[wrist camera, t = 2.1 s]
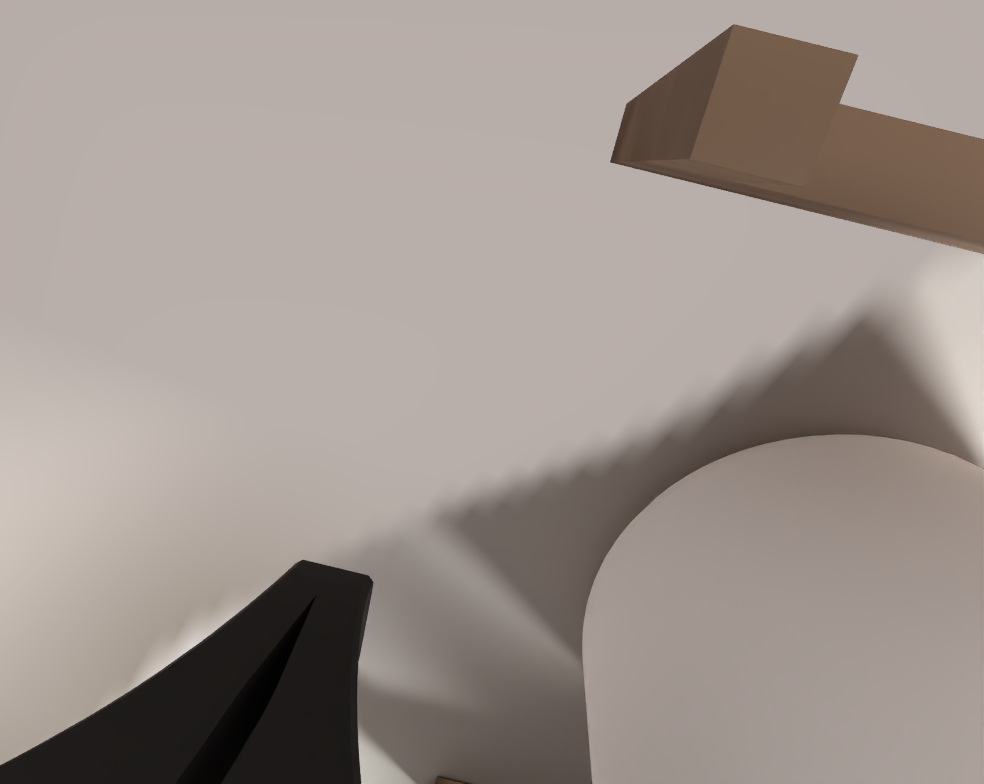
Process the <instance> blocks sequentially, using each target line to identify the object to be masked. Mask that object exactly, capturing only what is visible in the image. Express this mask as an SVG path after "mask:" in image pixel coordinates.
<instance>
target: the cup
mask: <svg viewBox="0 0 984 784" xmlns="http://www.w3.org/2000/svg"><path fill="white" fill-rule="evenodd" d="M582 658H583V670H584V683H585V696H586V709H587V722H588V735H589V748H590V760H591V773H592V784H984V469H983V468H980V467H978V466H976V465H974V464H972V463H970V462H968V461H966V460H963V459H961V458H959V457H957V456H955V455H952V454H949V453H946V452H943V451H940V450H938V449H935V448H932V447H928V446H924V445H920V444H917V443H913V442H909V441H903V440H897V439H892V438H886V437H879V436H868V435H846V434H834V435H817V436H806V437H799V438H792V439H785V440H780V441H775V442H771V443H766V444H762V445H758V446H755V447H751V448H748V449H745V450H742V451H739V452H736V453H733V454H731V455H728V456H725V457H723V458H721V459H718V460H716V461H714V462H712V463H710V464H708V465H705V466H703V467H702V468H700V469H698V470H696V471H694V472H692V473H691V474H689V475H687V476H686V477H684V478H682V479H681V480H679V481H678V482H676V483H675V484H673V485H672V486H670V487H669V488H668V489H666V490H665V491H664V492H662V493H661V494H660V495H659V496H657V497H656V498H655V499H654V500H653V501H652V502H651V503H650V504H649V505H648V506H647V507H646V508H645V509H644V510H643V511H642V512H640V513H639V514H638V515H637V516H636V517H635V518H634V519H633V520H632V521H631V522H630V523H629V525H628V526H627V527H626V528H625V530H624V531H623V532H622V533H621V535H620V536H619V537H618V538H617V540H616V541H615V543H614V544H613V546H612V547H611V549H610V551H609V552H608V554H607V555H606V557H605V559H604V561H603V563H602V565H601V567H600V569H599V571H598V573H597V575H596V578H595V580H594V583H593V586H592V589H591V592H590V595H589V598H588V602H587V606H586V612H585V617H584V623H583V636H582Z"/></svg>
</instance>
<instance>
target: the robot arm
mask: <svg viewBox="0 0 984 784" xmlns="http://www.w3.org/2000/svg"><path fill="white" fill-rule="evenodd" d="M373 583H374V582H373V581H372V579H371V578H370V577H369V576H368V575H364V574H360V573H356V572H352V571H348V570H343V569H339V568H335V567H331V566H327V565H323V564H318V563H314V562H310V561H306V560H301V561H300V562H298V563H296V564H295V565H294V566H293V567H291V568H290V569H289V570H288V571H287V572H286V573H285V574H284V575H283V576H281V577H280V578H279V579H278V580H277V581H276V582H275V583H274V584H272V585H271V586H270V587H269V588H268V589H267V590H265V591H264V592H263V593H262V594H261V595H260V596H258V597H257V598H256V599H255V600H254V601H252V602H251V603H250V604H249V605H248V606H246V607H245V608H244V609H243V610H241V611H240V612H239V613H238V614H236V615H235V616H234V617H232V618H231V619H230V620H229V621H227V622H226V623H225V624H224V625H222V626H221V627H220V628H218V629H217V630H216V631H215V632H213V633H212V634H211V635H210V636H208V637H207V638H206V639H204V640H203V641H202V642H200V643H199V644H197V645H196V646H195V647H193V648H192V649H190V650H189V651H188V652H186V653H185V654H183V655H182V656H181V657H179V658H178V659H176V660H175V661H173V662H172V663H171V664H169V665H168V666H166V667H165V668H164V669H162V670H161V671H159V672H158V673H156V674H155V675H154V676H152V677H151V678H149V679H148V680H146V681H144V682H143V683H141V684H140V685H138V686H137V687H135V688H134V689H132V690H131V691H129V692H128V693H126V694H124V695H123V696H121V697H120V698H118V699H116V700H115V701H113V702H112V703H110V704H108V705H107V706H105V707H103V708H102V709H100V710H99V711H97V712H95V713H94V714H92V715H90V716H89V717H87V718H85V719H84V720H82V721H80V722H78V723H76V724H75V725H73V726H71V727H69V728H68V729H66V730H64V731H62V732H61V733H59V734H57V735H55V736H53V737H52V738H50V739H48V740H46V741H45V742H43V743H41V744H39V745H37V746H36V747H34V748H32V749H30V750H28V751H26V752H25V753H23V754H21V755H19V756H17V757H15V758H13V759H12V760H10V761H8V762H6V763H4V764H2V765H0V784H361V775H360V763H359V748H358V727H357V675H358V660H359V657H360V652H361V647H362V641H363V636H364V631H365V625H366V620H367V615H368V610H369V604H370V599H371V594H372V588H373Z"/></svg>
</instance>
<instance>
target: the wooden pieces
mask: <svg viewBox="0 0 984 784" xmlns="http://www.w3.org/2000/svg"><path fill="white" fill-rule="evenodd" d="M857 57H858V55H856V54H852V53H848V52H843V51H840V50H835V49H832V48H827V47H824V46H819V45H815V44H811V43H807V42H803V41H799V40H795V39H791V38H787V37H783V36H779V35H774V34H770V33H767V32H763V31H759V30H754V29H751V28H747V27H742V26H738V25H732V26H731V27H730V28H728V29H727V30H726V31H724V32H723V33H721V34H720V35H719V36H718V37H716V38H715V39H713V40H712V41H711V42H709V43H708V44H707V45H705V46H704V47H703V48H702V49H700V50H699V51H697V52H696V53H695V54H693V55H692V56H691V57H689V58H688V59H686V60H685V61H684V62H682V63H681V64H680V65H679V66H677V67H676V68H674V69H673V70H672V71H670V72H669V73H668V74H667V75H665V76H664V77H662V78H661V79H660V80H658V81H657V82H655V83H654V84H653V85H652V86H650V87H649V88H647V89H646V90H645V91H644V92H642V93H641V94H639V95H638V96H637V97H635V98H634V99H633V100H631V101H630V102H629V103H627V105H626V108H625V112H624V115H623V119H622V122H621V126H620V129H619V133H618V137H617V140H616V143H615V147H614V151H613V154H612V158H611V161H610V162H611V163H616V164H620V165H624V166H628V167H632V168H636V169H640V170H644V171H648V172H652V173H656V174H660V175H664V176H668V177H672V178H677V179H681V180H685V181H689V182H693V183H697V184H701V185H705V186H709V187H713V188H717V189H721V190H726V191H729V192H734V193H738V194H742V195H746V196H750V197H754V198H758V199H762V200H766V201H770V202H774V203H778V204H782V205H787V206H791V207H795V208H799V209H803V210H807V211H811V212H815V213H819V214H823V215H828V216H831V217H835V218H839V219H844V220H848V221H852V222H856V223H860V224H864V225H868V226H873V227H876V228H880V229H884V230H888V231H892V232H897V233H901V234H905V235H909V236H913V237H917V238H921V239H925V240H929V241H933V242H937V243H941V244H945V245H950V246H954V247H958V248H962V249H966V250H970V251H974V252H978V253H982V254H984V139H979V138H975V137H971V136H967V135H963V134H959V133H955V132H951V131H947V130H943V129H939V128H935V127H931V126H926V125H923V124H918V123H915V122H910V121H906V120H902V119H898V118H894V117H890V116H886V115H882V114H878V113H873V112H870V111H866V110H861V109H857V108H854V107H849V106H846V105H841V104H839V102H840V100H841V97H842V95H843V92H844V90H845V87H846V85H847V82H848V80H849V77H850V75H851V72H852V70H853V67H854V65H855V62H856V60H857ZM435 784H464V783H460V782H456V781H452V780H448V779H443V778H439V777H437V780H436V783H435Z"/></svg>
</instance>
